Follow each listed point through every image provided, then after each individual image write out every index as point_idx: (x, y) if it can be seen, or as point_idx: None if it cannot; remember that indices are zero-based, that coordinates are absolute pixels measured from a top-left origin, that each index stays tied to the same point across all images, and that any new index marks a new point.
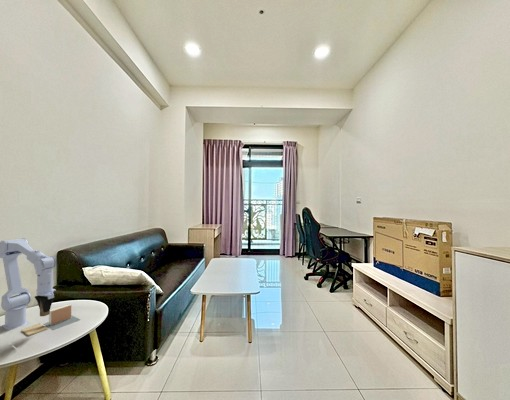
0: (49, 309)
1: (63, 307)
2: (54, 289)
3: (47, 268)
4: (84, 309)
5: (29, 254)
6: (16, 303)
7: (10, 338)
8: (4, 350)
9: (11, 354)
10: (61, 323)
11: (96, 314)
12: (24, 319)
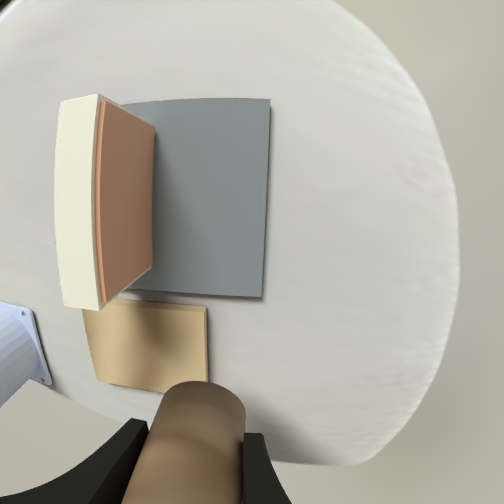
0: (264, 448)
1: (91, 180)
2: None
3: None
4: (90, 25)
5: None
6: None
7: (140, 416)
8: None
9: (324, 453)
10: (192, 212)
11: (261, 2)
12: (9, 337)
